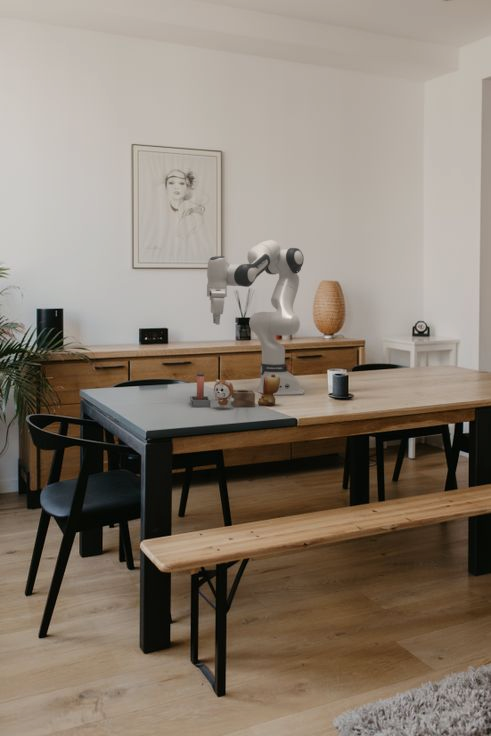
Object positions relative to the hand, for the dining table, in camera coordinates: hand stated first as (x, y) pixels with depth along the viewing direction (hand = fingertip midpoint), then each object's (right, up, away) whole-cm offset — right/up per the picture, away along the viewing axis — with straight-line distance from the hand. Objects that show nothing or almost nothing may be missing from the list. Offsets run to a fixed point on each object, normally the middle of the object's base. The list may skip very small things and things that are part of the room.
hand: (216, 323), depth 309 cm
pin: (-6, -35, -12) cm, 38 cm away
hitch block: (+12, -36, -10) cm, 39 cm away
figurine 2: (+23, -36, -8) cm, 43 cm away
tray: (-7, -36, -12) cm, 38 cm away
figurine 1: (+3, -37, -19) cm, 42 cm away
